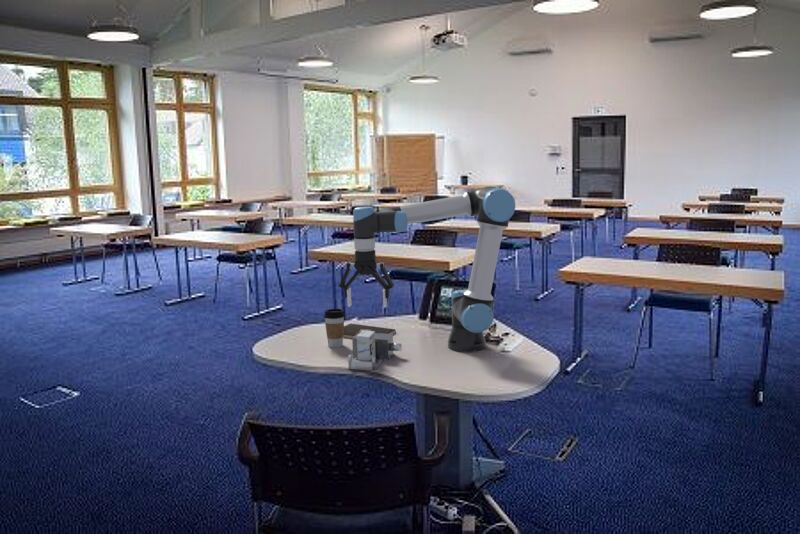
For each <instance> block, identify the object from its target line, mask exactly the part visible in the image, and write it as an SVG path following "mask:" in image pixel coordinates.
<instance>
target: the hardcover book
mask: <svg viewBox="0 0 800 534" xmlns="http://www.w3.org/2000/svg"><path fill="white" fill-rule="evenodd" d="M361 329H363V330H371V331H375V333H383V334H393V335H394V334H396V333H397V332H396V329H394V328H389V327H381V326H374V325H373V326H372V325H365V324H360V323H359V324H357V323H349V324H346V325H344V331H343V338H345V339H352V338H353V337H354V336H355V335H356V334H357V333H358V332H359V331H360V330H361Z"/></svg>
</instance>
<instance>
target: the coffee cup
mask: <svg viewBox="0 0 800 534" xmlns="http://www.w3.org/2000/svg"><path fill="white" fill-rule="evenodd" d="M323 315H324V316H323V318H324V320H325V321H324V323H325V324H324V325H325V331H326V338H327V346H328V347H329V348H334V349H335V348H340V347H341V348H342V347H343V345H344V337H343V331H344V326H345V320H344V318H345V312H344V310H343V309H342V308H330V309H326V310H324V314H323Z"/></svg>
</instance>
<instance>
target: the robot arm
mask: <svg viewBox="0 0 800 534" xmlns="http://www.w3.org/2000/svg"><path fill="white" fill-rule="evenodd" d="M515 211H516V200H515V197H514V196H513V195H512V193H511V192H510V191H508V190H507V189H504V188H501V187H495V186H484V187H480V188H477V189H473V190H469V191H464V192H463V194H462V195H456V196H451V197H445V198H439V199H433V200H427V201H422V202H416V203H415V202H414V203H410V204H403V205H399V206H393V207H388V206H386V207H383V208H381V209H380V210H379V211H375V208H374V207H372V206H357V207H354V209H353V212H352V213H353V215H352V220H353V221H352V222H353V223H352V224H353V236H354V237H353V241H354V250H355V251H354V262H351V261H349V262H347V263H346V267H345V268H346V269H345V272H344V273H343V275H342V278H341V280H340V283H339V284H338V287H339V288H342V289H343V290H344V291H343V292H344V298H346V299H347V300H346V301H347V303H346V304H347V307H348V308H350V307H351V306H352V288H351V285H352V284H353V283H354V282H355V280H356V279H357V277H358V276H359V275H360V276H372V277H373V278H375V279H376V281H377V282H378V283H379V284H380V286H381V287H382V288H383V289H382V304H383V307H382V308H387V307H388V299H389V298H390V290H391V289H393V288H394V286H395V285H394V284H395V283H394V282H393V280H392V278H391V277H390V274H389V272H388V270H387V269H386V265H385V264H386V263H385V262H384V261H383V262H378V263H377V262H376V261H377V258H376V257H377V256H376V234H377V233H378V234H380V233H400V232H406V231H407V230H408V227H409V226H408V225H412V224H419V223H425V222H430V221H436V220H437V221H438V220H443V219H447V218H454V217H459V216H465V215H466V216H467V217H475V216H477V217H476V223H477V224H478V225H479V229H478V234H477V235H478V236H477V240H476V246H475V250H474V256H473V261H472V266H471V267H472V268H471V272H470V276H469V277H470V278H469V282H468V288H467V289H458V290H454V291H453V292H452V293H451V330H450V333H449V336H448V340H447V347H448V349H450V350H452V351H457V352H463V353H464V352H465V353H466V352H468V353H469V352H471V353H472V352H478V351H481V350H484V349H485V348H486V346H487V345H486V343H487V342H486V338H485V335H484V332H485V331H487V330H488V329H489V328H491V326H492V324H493V321H494V317H495V316H494V311H493V304H494V299H495V298H494V297H493V295H492V293H491V292H492V289H493V288H492V287H493V282H494V278H495V273H496V267H497V264H498V263H497V262H498V257H499V252H500V247H501V242H502V237H503V233H504V232H503V231H504V230H506V229H507V228H508V227H509V223H510V219H511V218H512V216H514V213H515ZM377 267H378V269H379V270H380V272H381V273H382V276H381V275H380V273H379V272H378V271H377V270H376V268H377ZM353 268H355V270H356V271H355V272H354V274H353V275H352V276H351V277H350V279H349V280H348V277H349V275H350V273H351V271H352V269H353ZM383 277H384V278H383ZM347 280H348V281H347Z"/></svg>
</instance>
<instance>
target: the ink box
mask: <svg viewBox="0 0 800 534" xmlns="http://www.w3.org/2000/svg"><path fill="white" fill-rule="evenodd" d="M357 353H358V360H359V361H372V356H376V354H375V331H362V332H361V333H360V334H358V335H357Z"/></svg>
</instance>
